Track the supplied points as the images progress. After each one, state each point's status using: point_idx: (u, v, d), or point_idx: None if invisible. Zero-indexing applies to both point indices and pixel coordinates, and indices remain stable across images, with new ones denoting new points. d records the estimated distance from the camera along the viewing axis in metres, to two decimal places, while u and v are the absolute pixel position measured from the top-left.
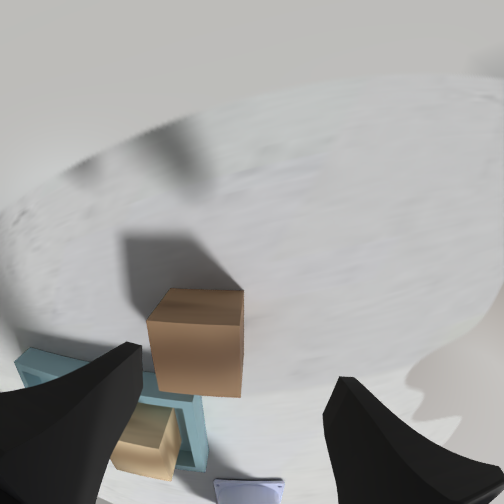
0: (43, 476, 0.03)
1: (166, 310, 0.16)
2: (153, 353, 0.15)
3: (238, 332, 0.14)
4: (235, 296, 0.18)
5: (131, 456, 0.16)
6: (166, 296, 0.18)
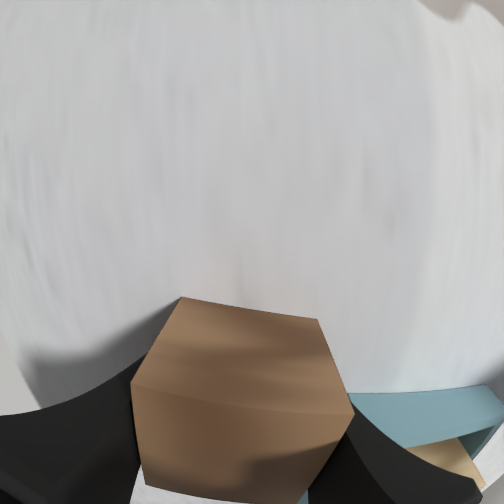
0: (87, 498, 0.03)
1: None
2: (209, 497, 0.07)
3: (147, 390, 0.05)
4: None
5: None
6: None
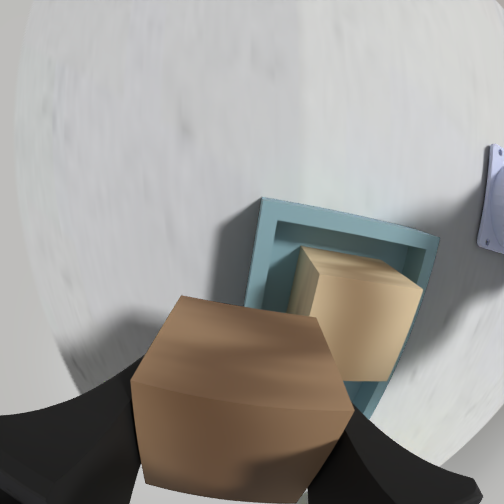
0: (87, 498, 0.03)
1: None
2: (209, 495, 0.07)
3: (146, 387, 0.05)
4: None
5: (347, 337, 0.12)
6: None
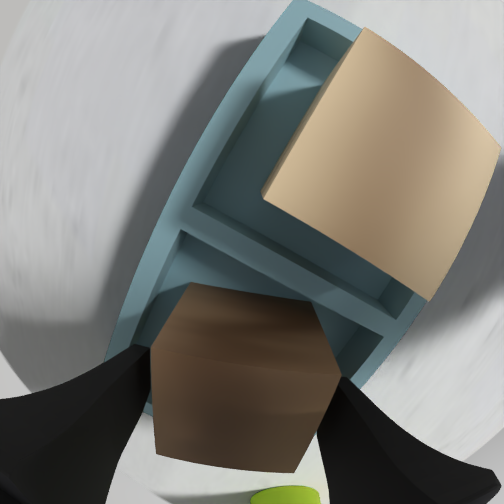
0: (55, 483, 0.03)
1: None
2: (214, 464, 0.08)
3: (165, 352, 0.07)
4: None
5: (391, 151, 0.06)
6: None
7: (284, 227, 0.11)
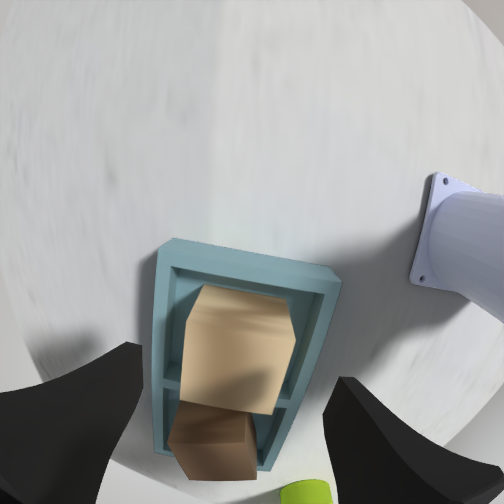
0: (43, 476, 0.03)
1: None
2: (216, 480, 0.16)
3: (172, 443, 0.15)
4: None
5: (220, 374, 0.13)
6: None
7: None
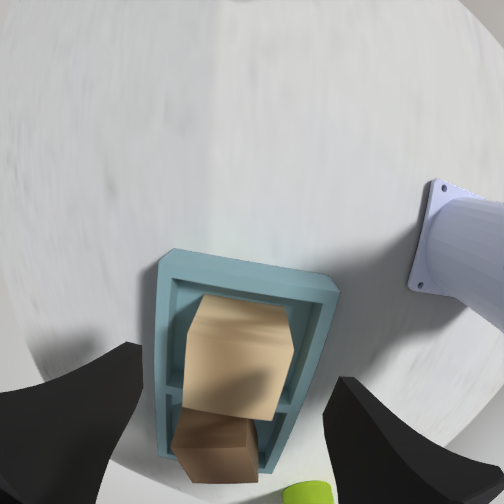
0: (43, 476, 0.03)
1: None
2: (219, 482, 0.16)
3: (176, 448, 0.15)
4: None
5: (221, 382, 0.13)
6: None
7: None
